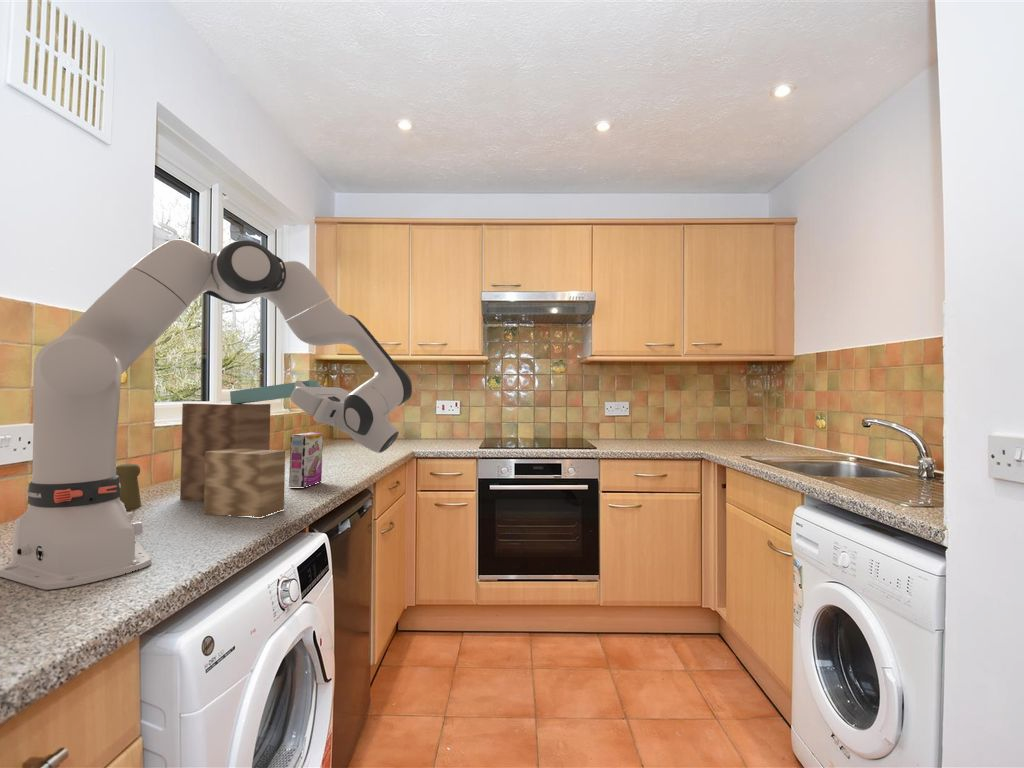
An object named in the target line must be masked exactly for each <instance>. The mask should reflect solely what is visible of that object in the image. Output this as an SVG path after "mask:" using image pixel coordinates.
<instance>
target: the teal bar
mask: <svg viewBox="0 0 1024 768" xmlns="http://www.w3.org/2000/svg"><path fill="white" fill-rule="evenodd" d="M301 381H302V380H301ZM295 382H296V381H295ZM295 382H288V383H280V384H272V385H267V386H266V385H265V386H260V387H252V388H247V389H246V388H244V389H237V390H231V391H229V394H230V398H229V399H230V403H231V404H244V403H257V402H259V403H260V402H266V401H267V402H268V401H273V400H274V401H275V400H281V399H289V398H290V397H291V394H292V392H293V391H294V389H295V386H294V384H295ZM302 382H304V383H305V386H306V387H307V386H308V387H318V384H319V380H314V379H313V380H311V379H309V380H303V381H302ZM290 399H291V398H290Z"/></svg>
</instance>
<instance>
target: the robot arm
mask: <svg viewBox="0 0 1024 768" xmlns="http://www.w3.org/2000/svg"><path fill="white" fill-rule="evenodd" d="M203 294H206V295H209V296H211V297H214V298H216V299H218V300H220V301H223V302H225V303H228V304H233V305H243V304H247V303H250V302H251V301H253V300H254V299H255V300H256V299H257V298H264V299H265V300H268V301H269V302H271V303H272V304H273V305H274V306H275V307H276V308H277V309H278V310H279V313H280V315H281V316H282V318H283V320H284V321H285V323H287V326H288V327H289V328H290V330H291V331H292V333H293V334H294V335H295V336H296V337H297V339H298V340H299V341H301V342H303V343H305V344H307V345H312V346H317V347H319V346H323V347H324V346H331V345H339V344H341V345H343V344H344V345H348V346H350V347H352V348H354V349H355V350H356V351H357V353H358V354H359V355H360V356H361V357H362V359H363V360H364V361H365V362H366V363H367V365H368V366H369V367H370V368H371V369H372V370H373V373H374V374H373V376H372V377H371V378H370V379H368V380H366V381H365V382H364V383H362V384H361V385H359V386H357V387H356V388H355V389H354V390H352V391H351V392H349V391H347V390H346V389H344V388H341V387H330V386H329V387H327V386H324V385H321V384H319V383H318V387H308V386H307V387H306V386H305V383H304V382H302V380H296V381H295V384H294V386H295V389H294V391H293V392H292V394H291V397H290V401H291V402H292V403H293V404H294V405H296V407H297V408H299V409H301V410H302V411H303V412H304V413H306V414H308V415H310V416H313V417H312V419H313V421H315V422H316V423H319V424H325V425H328V426H331V427H333V428H337V429H338V430H340V431H341V432H343V433H346V434H348V435H349V436H350V437H351V438H352V439H353V440H354V441H355V442H357V443H358V444H360V445H361V446H362V447H364V448H366V449H368V450H369V451H370V450H371V451H372V452H375V453H377V454H379V453H383V452H385V451H386V450H387V449H389V448H390V447H391V446H392V445H393V444H394V443H395V441H396V440H397V438H398V437H399V433H400V431H399V430H398V429H397V427H396V426H395V425H393V423H391V422H390V421H389V417H388V415H389V414H390V413H391V412H393V411H394V410H395V409H396V408H397V407H400V406H401V405H403V404H404V403H406V402H407V401H408V400H410V399H411V396H412V394H413V393H412V392H413V382H412V380H411V377H410V376H409V374H408V373H407V372H406V371H405V370H404V369H402V368H401V366H400V365H398V363H396V362H395V361H394V359H393V358H392V357H391V356H390V355H389V354H388V352H387V351H386V349H384V347H383V345H381V344H380V342H379V341H378V340H377V339H376V338H375V337H374V335H373V334H372V333H371V331H370V330H369V329H368V328H367V327H366V326H365V324H364V323H363V322H361V320H359V318H357V317H356V316H354V315H351V314H347V313H345V312H344V311H343V310H341V309H340V308H339V307H338V306H337V305H336V304H335V303H334V301H333V300H332V298H331V297H330V295H329V293H328V292H327V290H326V289H325V287H324V286H323V284H322V283H321V282H320V281H319V279H318V277H316V276H315V274H314V273H313V272H312V271H311V270H310V269H309V268H308V267H307V266H306V265H305V264H304V263H303V262H299V261H295V260H290V261H285V262H284V261H283V259H282V258H280V257H279V256H277V255H275V254H274V253H272V251H270V250H269V249H267V247H265V246H264V245H262V244H260V243H258V242H256V241H253V240H247V239H243V240H242V239H241V240H235V241H232V242H229V243H228V244H226V245H224V246H223V247H222V248H221V250H220V251H219V252H216V253H215V252H208V251H206V250H204V249H202V248H201V247H200V246H198V245H197V244H196V243H194V242H191V241H188V240H186V239H180V238H175V239H169V240H168V241H166V242H165V243H162V244H160V245H159V246H158V247H156V248H154V249H153V250H152V251H150V252H149V253H147V254H146V255H144V256H143V257H142V258H141V259H140V260H139V261H137V262H136V263H135V264H134V265H133V266H132V267H131V268H129V269H128V270H127V271H126V272H125V273H124V274H123V275H122V276H121V277H120V278H119V279H117V281H115V282H114V283H113V284H112V285H111V286H110V287H109V288H108V289H107V290H105V292H104V293H102V294H101V296H99V297H98V298H97V299H96V300H95V301H94V303H93V304H91V305H90V306H89V308H87V310H86V311H85V312H84V313H83V314H82V315H81V316H80V317H78V318H77V320H76V321H75V322H73V324H72V325H70V326H69V328H68V329H67V330H66V331H65V332H63V333H62V334H61V335H60V336H59V337H58V338H55V339H52V340H51V341H49V342H48V343H46V344H44V345H43V347H42V348H41V349H40V350H39V351H38V352H37V354H36V356H35V358H34V362H33V387H32V388H33V397H32V398H33V403H32V404H33V405H32V406H33V407H32V409H33V410H32V411H33V413H32V417H33V421H32V422H33V424H32V425H33V427H32V428H33V429H32V430H33V434H32V435H33V441H32V442H33V443H32V444H33V445H32V446H33V447H32V471H31V472H32V475H31V481H30V482H29V483H28V489H27V492H26V496H27V504H28V505H29V506H28V507H27V510H26V511H25V512H24V513H23V514H22V515H20V516H19V517H18V518H17V519H16V520H14V526H13V528H14V529H13V538H12V548H11V557H10V558H11V559H10V563H8V564H4V565H2V566H0V577H1V578H4V579H7V580H10V581H13V582H17V583H21V584H23V585H28V586H30V587H34V588H37V589H40V590H49V591H50V590H56V589H62V588H69V587H76V586H80V585H81V586H82V585H85V584H89V583H95V582H98V581H102V580H106V579H110V578H111V579H112V578H115V577H118V576H123V575H126V574H129V573H132V571H133V572H134V571H135V570H136V571H138V569H139V570H141V569H143V568H146V567H148V566H150V564H151V565H152V564H153V562H152V558H151V557H150V555H149V554H148V552H147V551H146V550H145V549H144V547H143V546H142V545H141V543H139V541H138V540H136V536H141V535H142V534H143V523H142V522H141V521H136V522H132V520H134V519H133V518H134V514H133V512H128V510H127V511H126V509H125V507H124V503H122V502H121V501H120V499H119V497H120V496H121V491H120V488H121V485H120V482H119V476H118V475H116V467H117V457H118V456H117V451H118V447H117V446H118V426H119V417H120V400H121V389H122V388H121V385H122V382H121V381H122V374H124V373H125V372H126V371H127V370H128V369H129V368H130V367H131V365H133V364H134V362H136V361H137V360H138V359H139V358H140V357H141V356H142V355H143V354H144V352H146V351H147V350H148V349H149V348H150V347H151V346H153V344H154V343H155V342H157V340H159V338H160V337H161V336H163V334H164V333H165V332H166V331H167V330H168V329H169V328H170V327H171V326H172V325H173V323H175V321H176V320H177V319H178V318H180V316H181V315H182V314H183V313H184V312H186V310H187V309H188V308H189V307H190V306H191V305H192V304H193V303H194V301H196V300H197V299H198V298H199V297H200V296H201V295H203ZM125 573H126V574H125Z"/></svg>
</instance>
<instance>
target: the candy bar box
mask: <svg viewBox="0 0 1024 768" xmlns="http://www.w3.org/2000/svg"><path fill="white" fill-rule="evenodd" d="M323 443H324V432H305V433H297V434H291V435H290V448H289V449H290V451H289V452H290V453H289V474H288V475H289V477H288V480H289V481H288V488H289V487H306V486H309V485H312V484H315V483H317V482H320V481H321V482H322V475H323V473H322V472H323V471H322V470H323V447H324V444H323Z"/></svg>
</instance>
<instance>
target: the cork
mask: <svg viewBox="0 0 1024 768" xmlns="http://www.w3.org/2000/svg"><path fill="white" fill-rule="evenodd" d="M140 473H141V466H140V465H139V464H137V463H123V464H119V465H116V475H118V476H119V482H120V485H121V488H120V491H121V496H120V497H119V499H120V501H121V502H122V503H124V507H125V509H126V510H127V511H132V510H131V509H133V510H137V509H136V508H138V509H140V508H139V507H141V508H142V501H141V494H140V487H139V478H138V476H139V475H140Z"/></svg>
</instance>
